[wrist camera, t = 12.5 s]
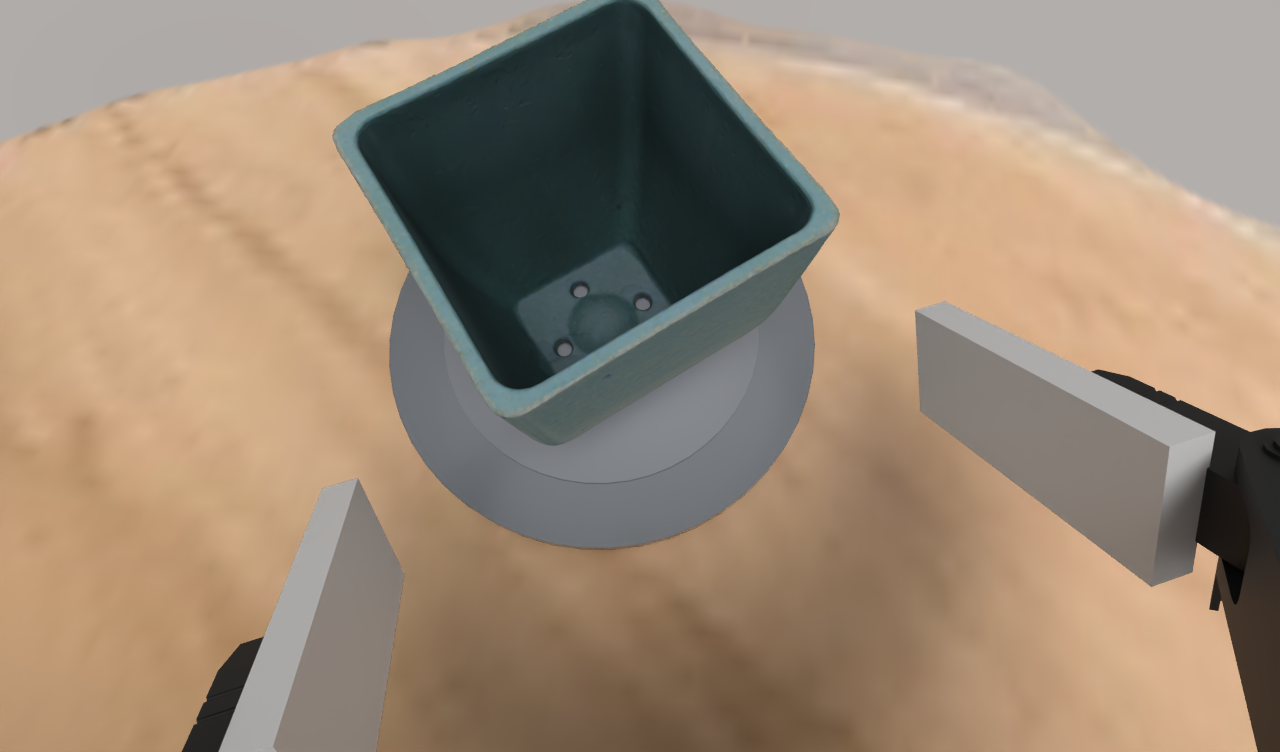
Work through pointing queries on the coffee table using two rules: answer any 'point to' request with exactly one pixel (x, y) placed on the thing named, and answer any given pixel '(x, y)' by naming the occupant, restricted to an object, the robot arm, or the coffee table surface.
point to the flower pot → (586, 210)
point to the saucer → (608, 434)
